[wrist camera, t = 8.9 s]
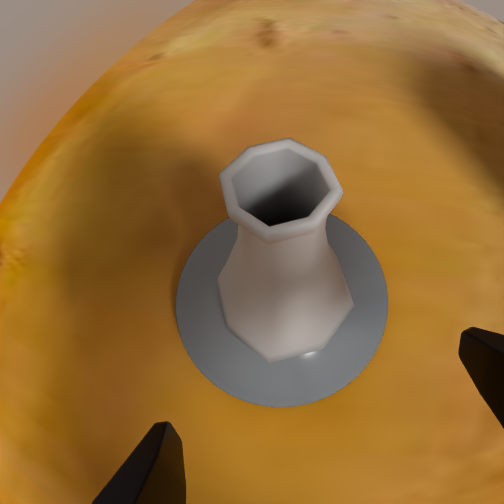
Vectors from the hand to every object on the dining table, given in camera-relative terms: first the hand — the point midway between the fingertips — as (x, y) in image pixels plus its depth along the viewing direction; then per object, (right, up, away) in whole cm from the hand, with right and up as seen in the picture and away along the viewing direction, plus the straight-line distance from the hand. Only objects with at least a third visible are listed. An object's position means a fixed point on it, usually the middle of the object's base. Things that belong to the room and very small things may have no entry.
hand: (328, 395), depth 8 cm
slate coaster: (0, +1, +10) cm, 10 cm away
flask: (0, +1, +10) cm, 10 cm away
